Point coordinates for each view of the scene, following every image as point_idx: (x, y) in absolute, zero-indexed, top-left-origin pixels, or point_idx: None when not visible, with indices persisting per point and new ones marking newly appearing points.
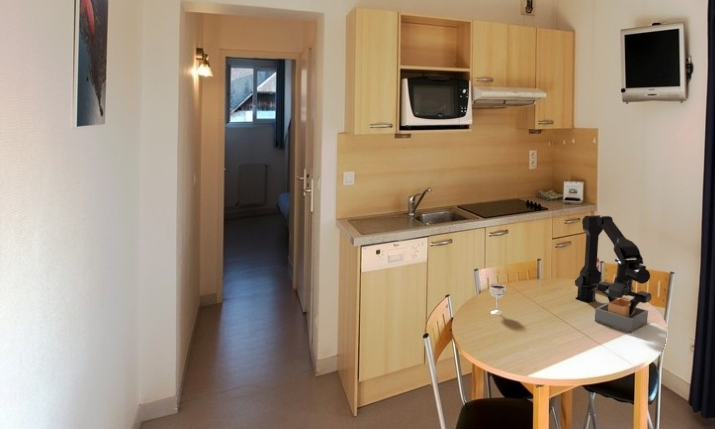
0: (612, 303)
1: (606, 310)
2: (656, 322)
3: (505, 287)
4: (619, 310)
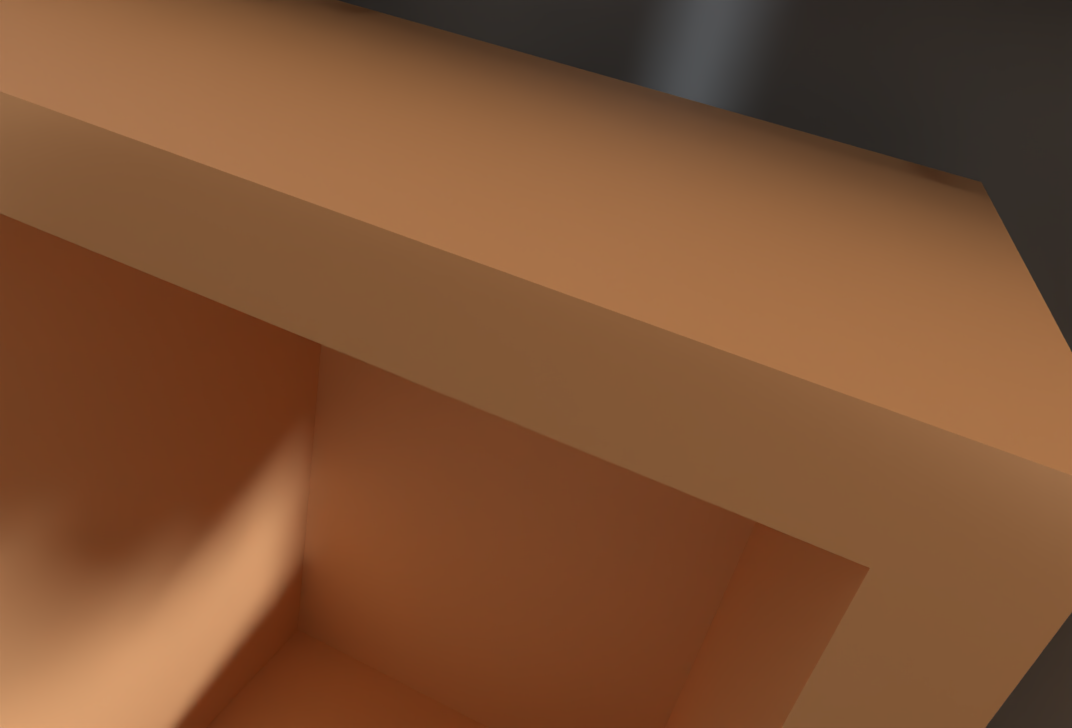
0: (750, 712)
1: (1018, 703)
2: None
3: None
4: (302, 68)
